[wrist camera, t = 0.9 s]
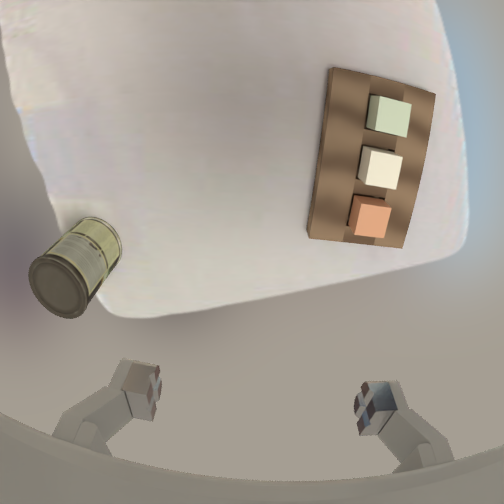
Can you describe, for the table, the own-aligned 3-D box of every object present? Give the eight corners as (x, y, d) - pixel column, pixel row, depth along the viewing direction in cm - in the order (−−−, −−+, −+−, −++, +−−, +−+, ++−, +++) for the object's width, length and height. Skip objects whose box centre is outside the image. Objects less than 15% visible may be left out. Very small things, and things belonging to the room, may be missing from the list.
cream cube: (363, 145, 39) (371, 150, 36) (392, 151, 39) (402, 157, 36) (357, 177, 41) (365, 184, 38) (386, 181, 41) (395, 189, 38)
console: (329, 68, 37) (334, 67, 34) (426, 93, 37) (435, 93, 34) (306, 229, 48) (309, 238, 45) (395, 240, 48) (402, 248, 46)
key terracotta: (354, 195, 42) (361, 203, 39) (382, 199, 42) (391, 208, 39) (348, 224, 44) (354, 234, 41) (375, 227, 44) (383, 238, 41)
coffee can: (120, 277, 53) (87, 328, 41) (71, 260, 52) (31, 305, 40) (125, 225, 49) (86, 270, 36) (73, 209, 48) (25, 248, 35)
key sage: (370, 95, 36) (379, 95, 32) (400, 102, 36) (411, 104, 33) (366, 127, 38) (374, 130, 35) (395, 133, 38) (406, 137, 35)
